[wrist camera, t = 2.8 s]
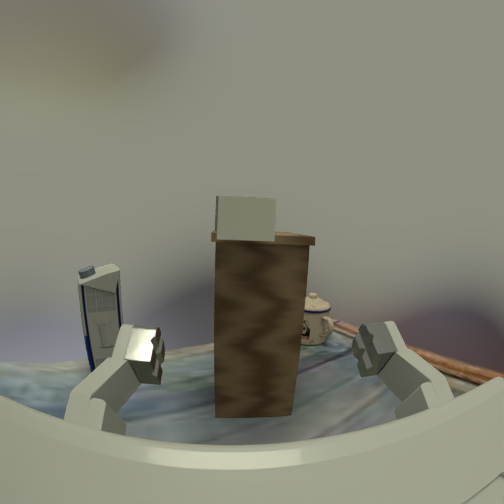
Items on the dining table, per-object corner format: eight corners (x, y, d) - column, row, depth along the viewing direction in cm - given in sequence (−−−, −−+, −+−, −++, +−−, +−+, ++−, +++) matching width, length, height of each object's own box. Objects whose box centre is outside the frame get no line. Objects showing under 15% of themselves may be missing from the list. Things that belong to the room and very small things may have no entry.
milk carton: (131, 382, 40) (120, 268, 38) (95, 388, 35) (77, 270, 33) (122, 364, 45) (113, 262, 43) (90, 368, 41) (76, 263, 39)
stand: (211, 419, 33) (211, 232, 31) (214, 369, 48) (216, 229, 45) (294, 416, 34) (315, 236, 32) (277, 369, 49) (287, 232, 47)
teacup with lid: (282, 336, 66) (286, 291, 65) (310, 329, 71) (314, 287, 69) (314, 354, 56) (321, 304, 55) (342, 344, 60) (349, 298, 59)
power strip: (202, 238, 19) (205, 167, 18) (216, 229, 44) (217, 198, 44) (288, 242, 19) (291, 171, 19) (252, 230, 45) (254, 200, 45)
